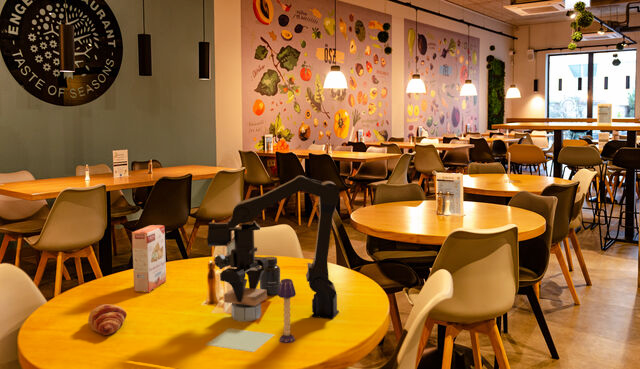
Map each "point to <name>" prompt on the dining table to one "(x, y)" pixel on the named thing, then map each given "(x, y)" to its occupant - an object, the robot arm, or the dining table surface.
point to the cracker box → (149, 257)
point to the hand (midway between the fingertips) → (246, 297)
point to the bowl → (245, 312)
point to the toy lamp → (286, 308)
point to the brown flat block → (247, 296)
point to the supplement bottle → (271, 277)
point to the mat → (240, 340)
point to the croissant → (106, 318)
